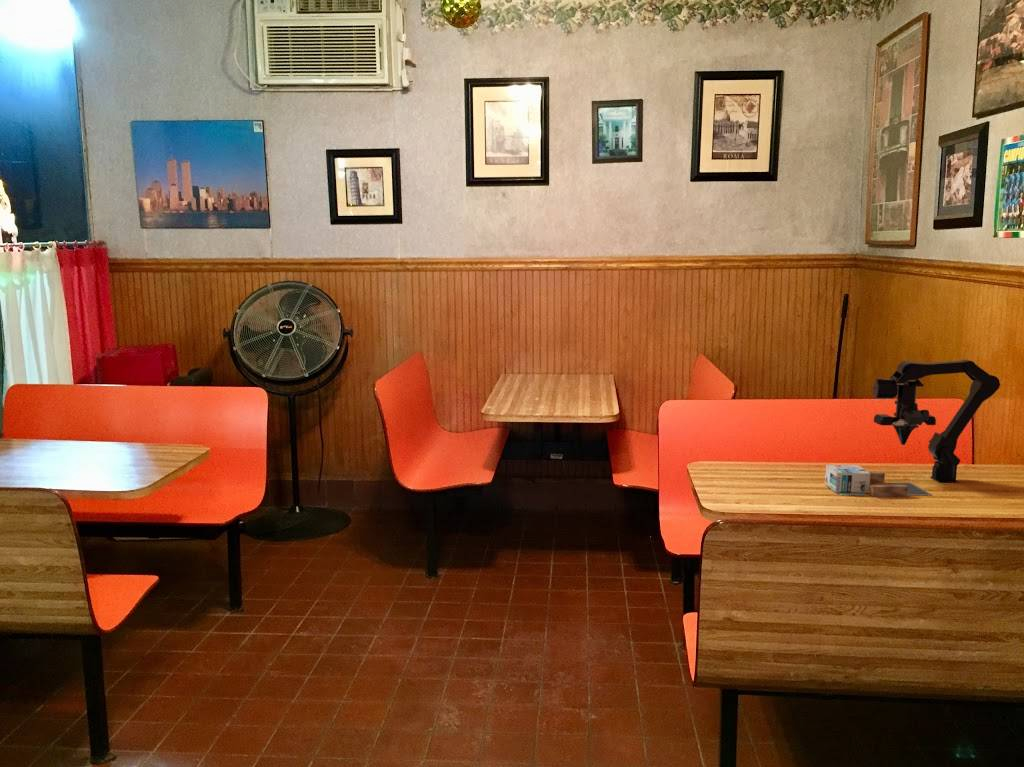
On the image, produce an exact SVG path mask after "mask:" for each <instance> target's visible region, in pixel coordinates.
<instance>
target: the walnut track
mask: <svg viewBox="0 0 1024 767" xmlns="http://www.w3.org/2000/svg"><path fill="white" fill-rule="evenodd" d="M868 472H869V473H870V483H884V484H870V486H869V496H870V497H871V496H872V497H871V498H873V497H880V498H908V495H907V494H908V486H906V485H889V484H885V478H886V477H885V476H886V473H885V472H884V471H868Z"/></svg>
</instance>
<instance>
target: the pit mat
mask: <svg viewBox="0 0 1024 767" xmlns="http://www.w3.org/2000/svg"><path fill="white" fill-rule="evenodd" d="M887 483H888V484H887V485H906V486H908V494H907V496H933V493H930V492H929V491H926V490H925V489H923V488H921V487H919V486H918V485H916V484H914V483H912V482H887Z"/></svg>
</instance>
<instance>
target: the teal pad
mask: <svg viewBox="0 0 1024 767" xmlns="http://www.w3.org/2000/svg"><path fill="white" fill-rule="evenodd" d="M836 493H837V494H838V495H840V496H842V497H844V495H847V496H848V495H856V496H867V493H855V492H836Z"/></svg>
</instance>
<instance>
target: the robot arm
mask: <svg viewBox="0 0 1024 767" xmlns="http://www.w3.org/2000/svg"><path fill="white" fill-rule="evenodd" d="M961 373H962V374H963V373H964V374H965V375H966V376H967V377H968V378H969V379H970V380H972V382H971V385H970V386H969V387H970V388H969V393H968V396H967V397H966V399H965V401H964V402H963V403H962V404H961V406H960V408H959V409H958V410H957V411H956V413H955V415H954V416H953V418H952V419H951V421H950V422H949V424H948V425H947V427H946V428H945V429H944V430H943V431H942V432H941V433H938V432H934V434H933V436H932V437H931V439H930V440H928V443H929V444H928V447H927V449H928V451H929V453H930V455H931V456H932V457H933V460H935V461H933V462H934V463H933V465H932V468H931V469H932V470H931V475H930V479H932V480H934V481H936V482H938V483H945V484H946V483H949V484H950V483H959V482H960V481H959V480H957V473H958V472H957V470H958V467H959V464H960V462H961V459H960V458H959V457H958V456H957V455H956V454H955V450H956V449H957V444H958V439H959V437H960V436H961V434H962V433H963V431H964V430H965V428H966V427H967V426H968V424H969V423H970V421H971V420H972V418H973V417H974V415H975V414H976V413H977V411H978V410H979V408H980V407H981V406H982V403H983V402H985V401H987V400H988V399H989V398H991V397H992V396H993V395H995V393H996V392H997V391H998V390H999V389H1000V387H1001V381H1000V379H999V378H998V376H995V375H993V374H990V373H989V372H987V371H985V370H984V369H983V368H981V367H980V366H979V365H977V364H976V363H975V362H974V361H973V360H969V359H965V358H964V359H961V360H951V361H950V360H949V361H940V362H939V361H938V362H937V361H936V362H920V361H912V360H911V361H909V360H904V361H901V362H900V363H899V364H898V365H897V366H896V370H895V371H894V372H893V374H892V375H891V376H890V377H889V378H879V377H878V378H875V382H874V383H873V386H872V395H873V396H872V397H873V398H874V399H878V400H881V399H882V400H886V399H887V400H893V399H894V398H896V400H894V404H895V405H896V407H895V412H894V413H893V416H891V415H889V414H886V413H885V414H884V413H879V414H875V415H874V416H873V423H875V424H877V425H879V426H893V428H894V430H895V432H896V434H897V437H898V440H899V443H900V445H902V446H905V445H906V443H907V441H908V439H909V437H910V436H911V433H912V432H913V431H914V430H915V429H918V428H919V426H922V425H923V423H924V424H925V425H927V426H936V425H937V419H936V417H935V416H933V415H932V414H930V410H928V409H920V410H919V409H918V408H919V407H918V403H917V387H920V388H921V387H925V386H924V385H925V384H924V383H922V382H921V381H920V380H921V379H923V378H925V377H929V376H934V375H935V376H938V375H946V374H947V375H949V374H961Z"/></svg>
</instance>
